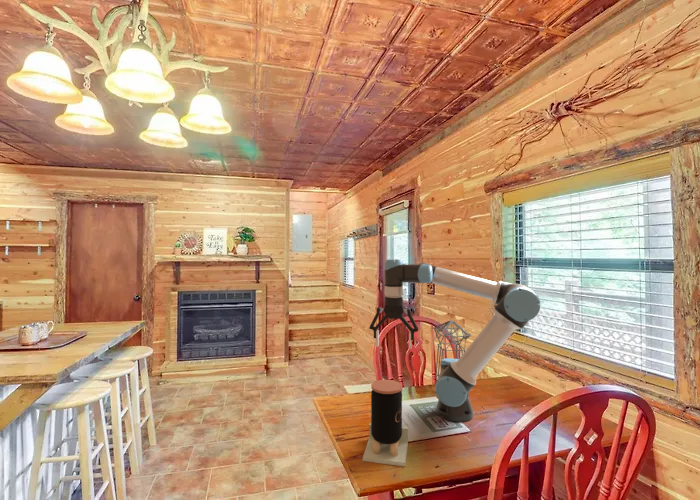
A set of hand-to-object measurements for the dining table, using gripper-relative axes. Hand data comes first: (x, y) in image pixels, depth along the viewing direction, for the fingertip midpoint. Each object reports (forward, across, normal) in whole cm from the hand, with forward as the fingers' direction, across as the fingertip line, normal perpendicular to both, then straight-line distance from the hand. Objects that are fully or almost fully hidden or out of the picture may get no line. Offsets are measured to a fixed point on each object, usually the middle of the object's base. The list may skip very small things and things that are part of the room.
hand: (393, 347), depth 147 cm
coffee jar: (+25, 0, +25) cm, 35 cm away
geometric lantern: (+30, -25, -36) cm, 53 cm away
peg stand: (+30, 0, +25) cm, 39 cm away
